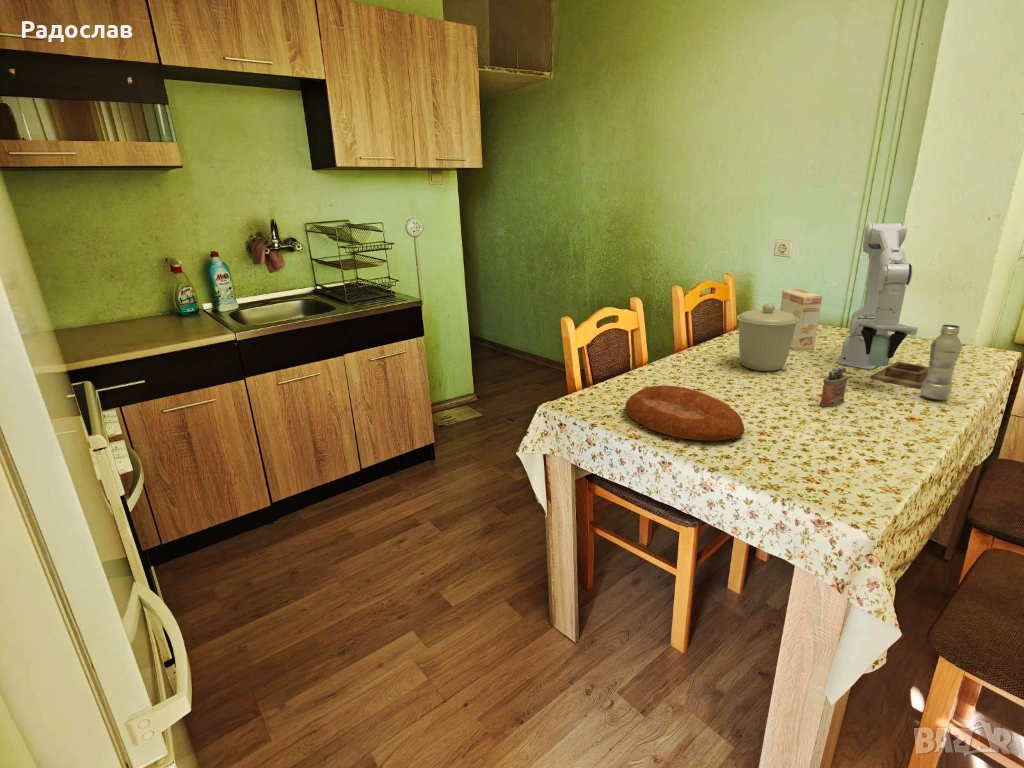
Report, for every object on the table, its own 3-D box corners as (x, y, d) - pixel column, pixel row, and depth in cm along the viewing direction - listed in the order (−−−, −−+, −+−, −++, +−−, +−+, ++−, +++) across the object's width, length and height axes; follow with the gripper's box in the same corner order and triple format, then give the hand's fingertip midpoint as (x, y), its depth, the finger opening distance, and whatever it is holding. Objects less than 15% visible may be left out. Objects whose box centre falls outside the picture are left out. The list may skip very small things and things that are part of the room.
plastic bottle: (942, 394, 143) (960, 323, 136) (953, 403, 137) (972, 329, 130) (914, 393, 145) (930, 322, 138) (923, 401, 139) (941, 328, 132)
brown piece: (870, 378, 157) (872, 367, 156) (889, 368, 165) (891, 357, 164) (926, 390, 147) (929, 378, 145) (943, 378, 154) (946, 367, 153)
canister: (731, 373, 168) (738, 308, 161) (732, 357, 184) (738, 297, 177) (794, 377, 161) (804, 310, 154) (789, 360, 177) (798, 298, 170)
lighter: (828, 409, 138) (834, 373, 135) (816, 405, 141) (821, 369, 137) (847, 402, 141) (853, 367, 138) (834, 398, 144) (840, 364, 141)
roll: (864, 363, 149) (869, 336, 147) (871, 360, 152) (877, 333, 149) (883, 367, 146) (889, 339, 143) (890, 363, 148) (896, 336, 146)
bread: (653, 396, 153) (655, 367, 150) (762, 426, 130) (766, 393, 127) (604, 419, 139) (604, 387, 136) (716, 457, 117) (720, 421, 114)
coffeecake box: (814, 350, 187) (823, 295, 180) (794, 350, 187) (802, 296, 181) (794, 339, 201) (801, 288, 194) (775, 340, 201) (781, 289, 195)
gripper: (853, 307, 147) (845, 353, 151) (914, 314, 136) (903, 364, 140) (864, 303, 151) (855, 348, 155) (924, 310, 140) (913, 358, 144)
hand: (879, 355), depth 148 cm, fingers closed on roll, 5 cm apart
